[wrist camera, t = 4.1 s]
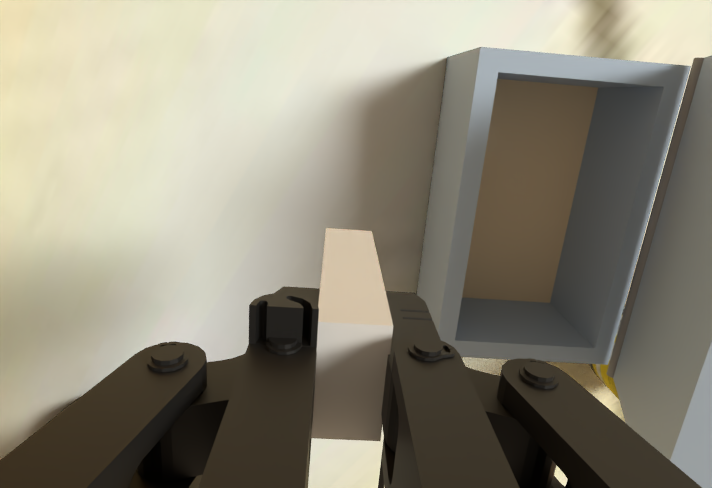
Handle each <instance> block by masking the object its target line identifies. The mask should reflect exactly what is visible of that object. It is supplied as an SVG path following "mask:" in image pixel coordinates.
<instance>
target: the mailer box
mask: <svg viewBox="0 0 712 488" xmlns="http://www.w3.org/2000/svg"><path fill="white" fill-rule="evenodd" d="M690 67H691V66H683V65H672V64H661V63H650V62H639V61H628V60H617V59H607V58H596V57H585V56H574V55H563V54H552V53H541V52H530V51H519V50H508V49H497V48H486V47H479V48H476V49H473V50H469V51H466V52H463V53H460V54H456V55H453V56H450V57H447V64H446V72H445V80H444V87H443V95H442V103H441V110H440V118H439V126H438V134H437V141H436V149H435V157H434V164H433V172H432V180H431V187H430V195H429V203H428V210H427V218H426V226H425V233H424V241H423V249H422V257H421V264H420V272H419V280H418V287H417V295H418V296H419V297H420V298H421V299H423V300H424V301H425V302H426V305H427V307H428V309H429V313H430V314H431V317H432V321H433V322H434V324H435V327H436V329H437V332H438V334H439V337H440V339H441V341H444V342H446V343H448V344H449V345H451V346H453V347H454V348H455V349H456V350H457V352H458V353H459V354H460V356H461V357H474V358H492V359H511V360H513V359H517V358H519V359H528V358H531V359H536V360H541V361H548V362H567V363H585V364H604V365H608V363H609V359H610V355H611V352H612V348H613V344H614V341H615V337H616V334H617V330H618V326H619V323H620V319H621V316H622V312H623V308H624V305H625V301H626V298H627V294H628V290H629V287H630V283H631V280H632V276H633V272H634V269H635V265H636V262H637V258H638V254H639V251H640V247H641V244H642V240H643V236H644V233H645V229H646V226H647V222H648V218H649V215H650V211H651V208H652V204H653V200H654V197H655V193H656V190H657V186H658V182H659V179H660V175H661V172H662V168H663V164H664V161H665V157H666V154H667V150H668V146H669V143H670V139H671V136H672V132H673V128H674V125H675V121H676V118H677V114H678V110H679V107H680V103H681V100H682V96H683V92H684V89H685V85H686V82H687V78H688V74H689V71H690Z"/></svg>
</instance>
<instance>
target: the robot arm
mask: <svg viewBox="0 0 712 488" xmlns="http://www.w3.org/2000/svg"><path fill="white" fill-rule="evenodd" d="M382 424H383V432H384V442H383V450H382V459H381V468H380V476H379V485H378V488H384V486H385V488H702V487H701V486H700V485H698V484H697V483H696V482H695V481H694V480H692V479H691V478H690V477H689V476H688V475H686V474H685V473H684V472H683V471H682V470H681V469H679V468H678V467H677V466H676V465H675V464H673V463H672V462H671V461H670V460H669V459H667V458H666V457H665V456H664V455H663V454H662V453H660V452H659V451H658V450H657V449H656V448H654V447H653V446H652V445H651V444H650V443H648V442H647V441H646V440H645V439H644V438H642V437H641V436H640V435H639V434H638V433H637V432H635V431H634V430H633V429H632V428H631V427H629V426H628V425H627V424H626V423H625V422H623V421H622V420H621V419H620V418H619V417H618V416H616V415H615V414H614V413H613V412H612V411H610V410H609V409H608V408H607V407H606V406H604V405H603V404H602V403H601V402H600V401H599V400H597V399H596V398H595V397H594V396H593V395H591V394H590V393H589V392H588V391H587V390H585V389H584V388H583V387H582V386H581V385H580V384H578V383H577V382H576V381H575V380H574V379H572V378H571V377H570V376H569V375H568V374H566V373H565V372H563V371H562V370H560V369H559V368H557V367H555V366H552V365H550V364H548V363H546V362H544V361H541V360H536V359H531V358H528V359H519V358H517V359H513V360H509V361H507V362H506V363H505V364H504V365H503V366H502V370H501V375H500V376H497V375H492V374H488V373H484V372H480V371H476V370H473V369H470V368H468V367H465V365H464V363H463V361H462V358H461V356H460V354H459V353H458V352H457V350H456V349H455V348H454V347H453V346H451V345H449V344H448V343H446V342H444V341H441V339H440V337H439V334H438V332H437V329H436V327H435V324H434V322H433V321H432V317H431V314H430V313H429V309H428V307H427V305H426V302H425V301H424V300H423V299H421V298H420V297H419V296H418V295H416V294H415V293H406V292H389V291H385V287H384V282H383V278H382V274H381V269H380V265H379V260H378V256H377V251H376V247H375V243H374V238H373V234H372V231H365V230H349V229H334V228H326V233H325V243H324V253H323V263H322V273H321V282H320V289H315V288H298V287H282V288H281V289H280V290H278V291H277V292H275V293H274V294H269V295H264V296H261V297H259V298H257V299H255V300H254V301H253V302H252V303H251V304H250V305H249V345H248V348H247V351H246V353H245V354H243V355H241V356H238V357H235V358H232V359H227V360H222V361H214V362H207V359H206V354H205V352H204V351H203V350H202V349H201V348H200V347H198V346H195V345H192V344H189V343H180V342H169V343H167V342H165V343H160V344H158V345H154V346H151V347H148V348H145V349H144V350H142V351H140V352H138V353H137V354H135V355H134V356H132V357H131V358H130V359H129V360H127V361H126V362H125V363H124V364H122V365H121V366H120V367H118V368H117V369H116V370H115V371H113V372H112V373H111V374H110V375H108V376H107V377H106V378H104V379H103V380H102V381H101V382H99V383H98V384H97V385H96V386H94V387H93V388H92V389H90V390H89V391H88V392H87V393H85V394H84V395H83V396H82V397H80V398H79V399H78V400H76V401H75V402H73V403H72V404H70V405H69V406H67V407H66V408H65V409H64V410H63V411H61V412H60V413H59V414H58V415H57V416H56V417H55V418H54V419H52V420H51V421H50V422H48V423H47V424H46V425H45V426H43V427H42V428H41V429H40V430H38V431H37V432H36V433H34V434H33V435H32V436H31V437H29V438H28V439H27V440H26V441H24V442H23V443H22V444H20V445H19V446H18V447H17V448H15V449H14V450H13V451H12V452H10V453H9V454H8V455H6V456H5V457H4V458H3V459H1V460H0V488H308V477H309V464H310V450H311V438H321V439H345V440H369V441H380V439H381V430H382ZM556 465H557V466H558V467H559V468H560V469H561V470H562V472H563V473H564V474H565V475H566V477H567V478H568V481H567V484H566V486H565V487H564V486H563V485H562V484H561V483H560V482H559V481H558V480H557V479H556V477H555V476H554V472H555V468H556Z"/></svg>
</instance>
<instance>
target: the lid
mask: <svg viewBox="0 0 712 488" xmlns="http://www.w3.org/2000/svg"><path fill="white" fill-rule="evenodd" d="M606 374H607V375H608V376H609V377H611V378H613V379H614V383H615V386H616V390H617V393H618V397H619V400H620V404H621V407H622V411H623V414H624V418H625V421H626V424H627V425H628V426H629V427H631V428H632V429H633V430H634V431H635V432H637V433H638V434H639V435H640V436H641V437H642V438H644V439H645V440H646V441H647V442H648V443H650V444H651V445H652V446H653V447H654V448H656V449H657V450H658V451H659V452H660V453H662V454H663V455H664V456H665V457H666V458H667V459H669V460H670V461H671V462H672V463H673V464H675V465H676V466H677V467H678V468H679V469H681V470H682V471H683V472H684V473H685V474H686V475H688V476H689V477H690V478H691V479H692V480H694V481H695V482H696V483H697V484H698V485H700V486H701V487H702V488H712V56H709V57H706V58H694V61H693V64H692V68H691V71H690V75H689V79H688V82H687V86H686V89H685V93H684V97H683V100H682V104H681V107H680V111H679V115H678V118H677V122H676V125H675V129H674V132H673V136H672V140H671V143H670V147H669V150H668V154H667V158H666V161H665V165H664V168H663V172H662V176H661V179H660V183H659V186H658V190H657V194H656V197H655V201H654V204H653V208H652V212H651V215H650V219H649V222H648V226H647V230H646V233H645V237H644V240H643V244H642V247H641V251H640V255H639V258H638V262H637V265H636V269H635V273H634V276H633V280H632V283H631V287H630V291H629V294H628V298H627V301H626V305H625V309H624V312H623V316H622V319H621V323H620V327H619V330H618V334H617V337H616V341H615V344H614V348H613V352H612V355H611V359H610V362H609V366H608V370H607V373H606Z"/></svg>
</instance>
